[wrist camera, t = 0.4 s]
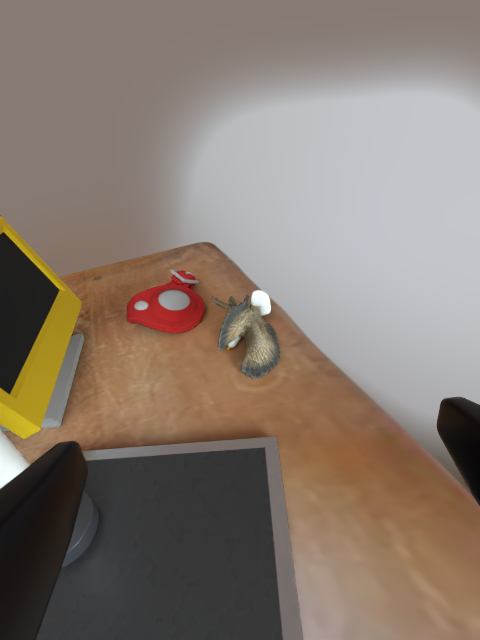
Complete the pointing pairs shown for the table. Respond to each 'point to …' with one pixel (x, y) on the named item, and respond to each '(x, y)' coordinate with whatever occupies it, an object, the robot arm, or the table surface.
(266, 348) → the eagle figurine
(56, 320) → the toy computer monitor
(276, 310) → the table surface
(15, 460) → the white peg on base
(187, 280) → the tracker holder
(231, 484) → the tablet
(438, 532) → the table surface
